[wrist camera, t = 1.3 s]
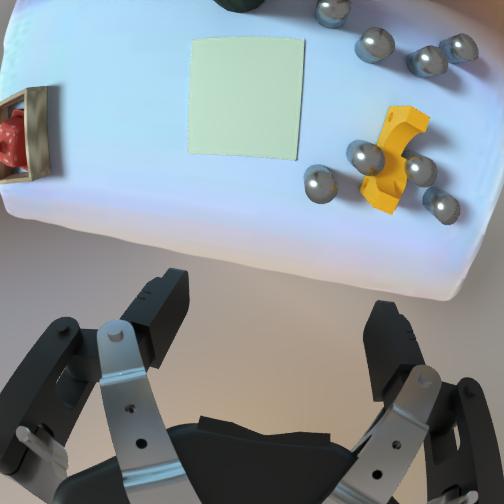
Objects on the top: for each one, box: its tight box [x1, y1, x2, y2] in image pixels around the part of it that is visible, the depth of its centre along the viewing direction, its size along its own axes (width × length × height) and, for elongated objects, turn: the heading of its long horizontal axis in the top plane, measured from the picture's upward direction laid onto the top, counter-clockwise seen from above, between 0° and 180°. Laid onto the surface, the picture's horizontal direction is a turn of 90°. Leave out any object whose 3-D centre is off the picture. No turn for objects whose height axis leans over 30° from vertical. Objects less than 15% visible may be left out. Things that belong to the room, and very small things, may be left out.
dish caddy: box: [0, 86, 51, 184], centre depth 33 cm, size 17×16×5 cm
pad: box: [188, 37, 304, 160], centre depth 30 cm, size 16×14×1 cm
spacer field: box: [304, 0, 479, 225], centre depth 25 cm, size 26×21×5 cm
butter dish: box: [0, 109, 28, 171], centre depth 32 cm, size 12×12×8 cm
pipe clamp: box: [359, 106, 430, 215], centre depth 27 cm, size 12×4×6 cm, turn 164°
